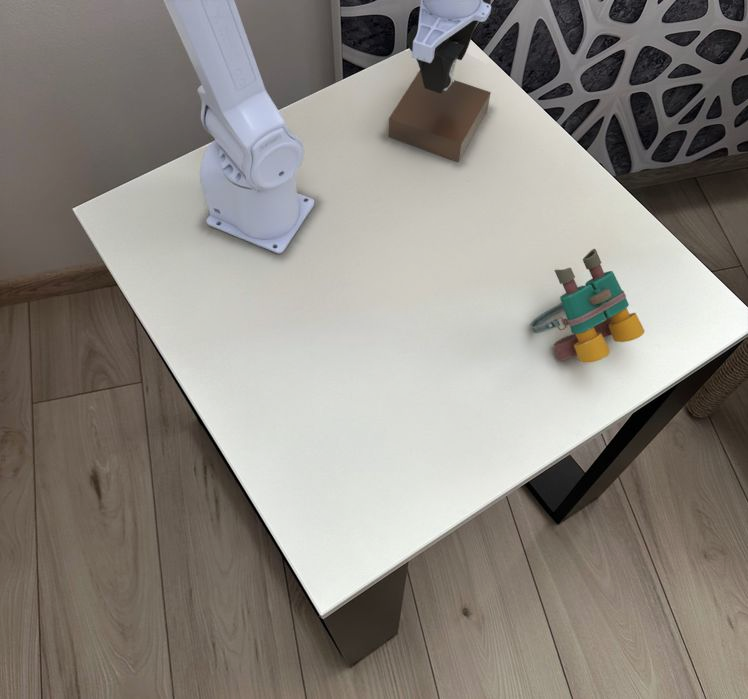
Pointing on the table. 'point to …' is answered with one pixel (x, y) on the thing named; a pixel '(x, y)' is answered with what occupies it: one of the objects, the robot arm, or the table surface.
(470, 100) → the brown square tile
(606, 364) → the table surface
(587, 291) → the binoculars
